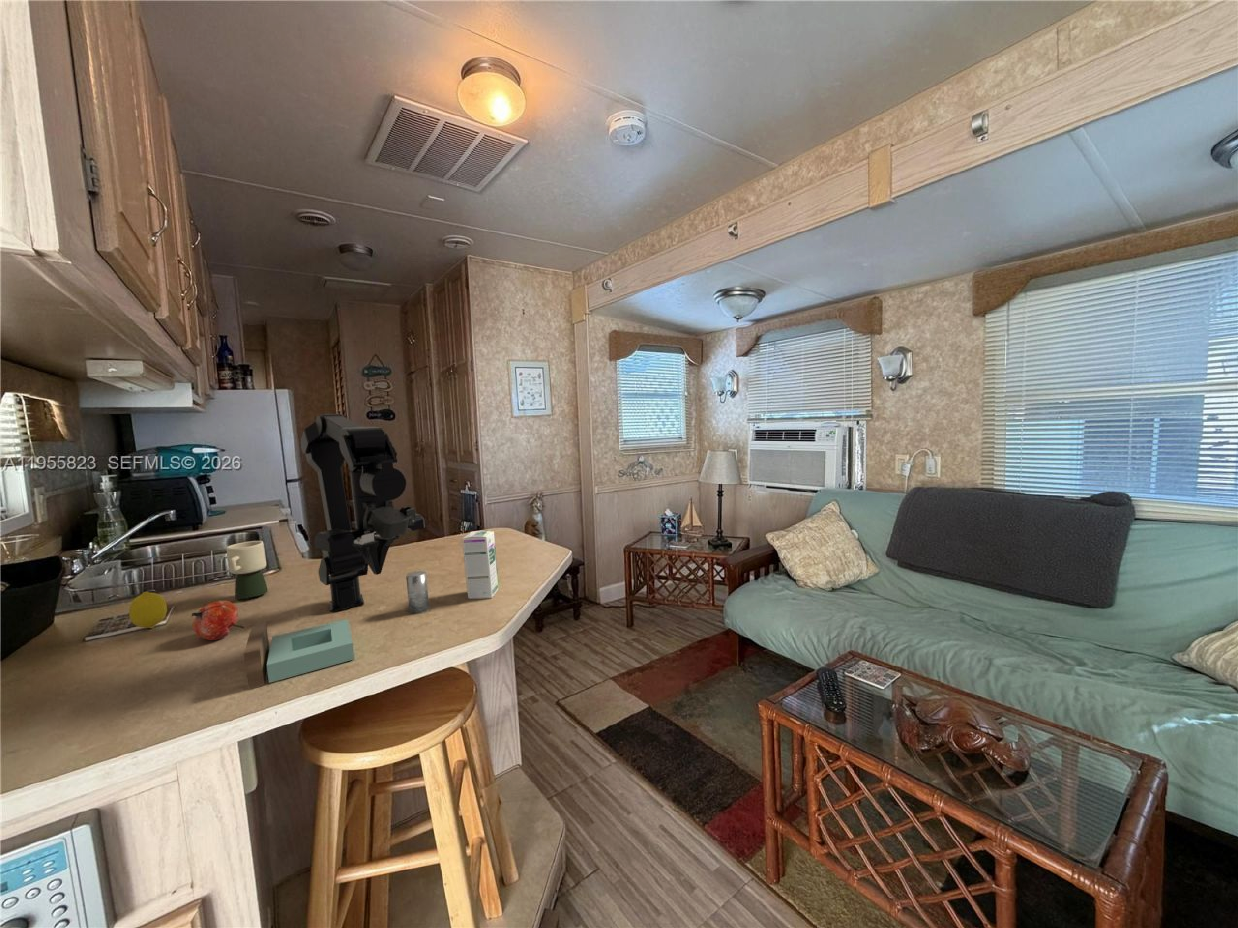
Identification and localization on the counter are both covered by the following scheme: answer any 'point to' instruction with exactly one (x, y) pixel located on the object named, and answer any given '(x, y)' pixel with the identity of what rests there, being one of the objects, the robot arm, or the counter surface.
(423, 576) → the dowel
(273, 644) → the socket block
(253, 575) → the character mug
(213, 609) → the red rounded lumpy piece
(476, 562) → the syrup box
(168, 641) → the counter surface
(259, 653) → the backstop wall
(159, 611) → the lemon
